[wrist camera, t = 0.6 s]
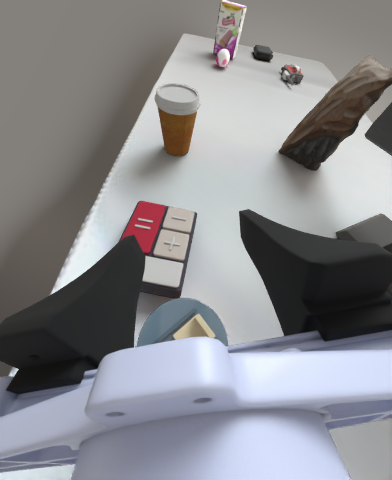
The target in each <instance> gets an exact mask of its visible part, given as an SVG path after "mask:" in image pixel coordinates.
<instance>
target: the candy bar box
mask: <svg viewBox="0 0 392 480" xmlns="http://www.w3.org/2000/svg"><path fill="white" fill-rule="evenodd" d="M246 8H247V7H246V6H243V5H240V4H236V3H232V2H229V1H226V0H222V1H221V3H220V10H219V16H218V23H217V31H216V38H215V44H214V51H213V54H216V55H217V54H218V52H219V51H220V50H222V49H227V50H228V51H229V54H230V59H232V60H233V59H234V58H235V57H236V53H237V48H238V43H239V39H240V34H241V30H242V26H243V21H244V17H245V12H246Z"/></svg>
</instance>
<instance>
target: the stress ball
mask: <svg viewBox="0 0 392 480" xmlns="http://www.w3.org/2000/svg"><path fill="white" fill-rule="evenodd" d="M229 59H230V54H229V51H228V50H227V49H222V50H220V51H219V52H218V54H217V58H216V62H217V64H218V66H219V67H224V66H226V65H227V64H228V62H229ZM213 65H214V64H213ZM226 67H227V66H226Z"/></svg>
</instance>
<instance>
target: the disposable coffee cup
mask: <svg viewBox="0 0 392 480" xmlns="http://www.w3.org/2000/svg"><path fill="white" fill-rule="evenodd" d="M155 102H156V104H157V106H158V111H159V117H160V123H161V129H162V134H163V140H164V146H165V150H166V151H167V152H168V153H169V154H171V155H175V156H181V155H185V154H187V153H188V151H189V146H190V142H191V137H192V132H193V128H194V123H195V118H196V114H197V110H198V108H199V106H200V100H199V94H198V92H197V91H196V90H195V89H193V88H191V87H189V86H186V85H182V84H175V83H169V84H164V85H161V86H159V87H158V88H157V91H156V95H155Z"/></svg>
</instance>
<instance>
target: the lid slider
mask: <svg viewBox="0 0 392 480" xmlns="http://www.w3.org/2000/svg"><path fill="white" fill-rule="evenodd" d="M173 337H174V338H175V340H178V339H184V338H189V337H210V338H214V337H215V334H214V333H213V332H212V330H211V329H210V328H209V326H208V325H207V324H206V322H205V321H204V320H203V318H202V317H201V316H200V314H198V315H195V316H194V317H193V318H192V319H191V320H190V321H189V322H187V323H186V324H185V325H184V326H183V327H182V328H181V329H179V330H178V331H177V332H176V333H175V334H174V335H173Z"/></svg>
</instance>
